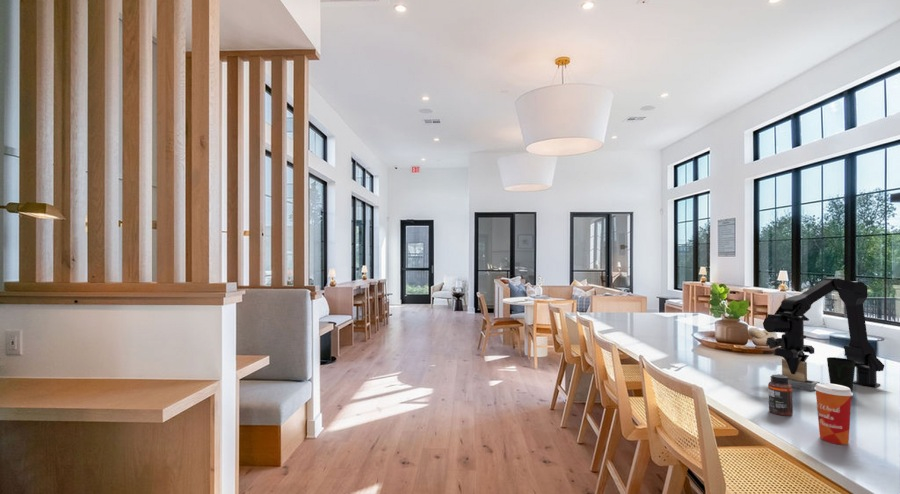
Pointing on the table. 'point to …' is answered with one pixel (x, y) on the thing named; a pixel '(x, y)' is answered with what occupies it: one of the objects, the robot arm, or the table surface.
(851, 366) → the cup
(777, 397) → the supplement bottle
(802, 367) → the oak panel
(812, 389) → the track
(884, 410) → the table surface
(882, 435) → the table surface
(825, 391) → the paper cup
